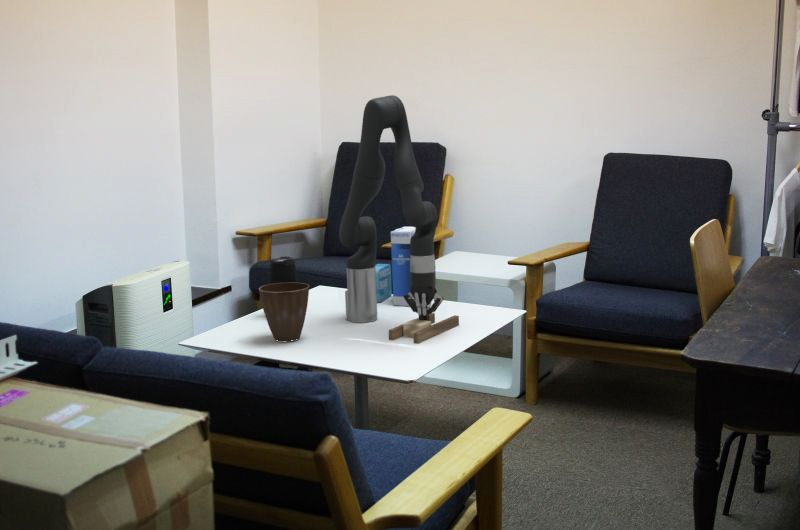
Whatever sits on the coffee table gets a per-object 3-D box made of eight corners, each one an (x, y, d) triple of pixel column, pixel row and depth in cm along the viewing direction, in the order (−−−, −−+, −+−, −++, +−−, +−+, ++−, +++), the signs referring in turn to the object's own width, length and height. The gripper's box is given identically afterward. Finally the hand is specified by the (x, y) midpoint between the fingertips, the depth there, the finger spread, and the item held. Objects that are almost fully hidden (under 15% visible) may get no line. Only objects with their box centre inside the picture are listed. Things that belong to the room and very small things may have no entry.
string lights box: (412, 307, 315) (410, 231, 310) (391, 306, 317) (389, 231, 313) (425, 298, 327) (423, 226, 322) (405, 297, 330) (402, 225, 325)
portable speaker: (301, 317, 305) (298, 259, 301) (272, 320, 302) (269, 261, 299) (297, 312, 313) (294, 255, 309) (269, 314, 310) (266, 257, 307)
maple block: (403, 336, 273) (403, 323, 272) (414, 332, 278) (413, 319, 277) (421, 338, 270) (420, 325, 269) (431, 334, 275) (431, 321, 274)
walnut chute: (389, 342, 270) (388, 330, 270) (430, 324, 290) (430, 312, 289) (418, 345, 265) (418, 333, 264) (459, 327, 285) (458, 315, 284)
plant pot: (256, 336, 282) (253, 285, 279) (303, 330, 288) (300, 280, 285) (269, 348, 268) (266, 294, 265) (318, 341, 274) (315, 288, 271)
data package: (379, 303, 322) (378, 269, 320) (367, 302, 324) (366, 269, 322) (392, 296, 333) (391, 263, 331) (380, 295, 335) (379, 262, 333)
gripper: (396, 270, 274) (398, 327, 277) (436, 273, 267) (437, 331, 270) (410, 265, 280) (411, 321, 284) (448, 268, 274) (449, 325, 277)
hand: (424, 326), depth 277 cm, fingers closed
